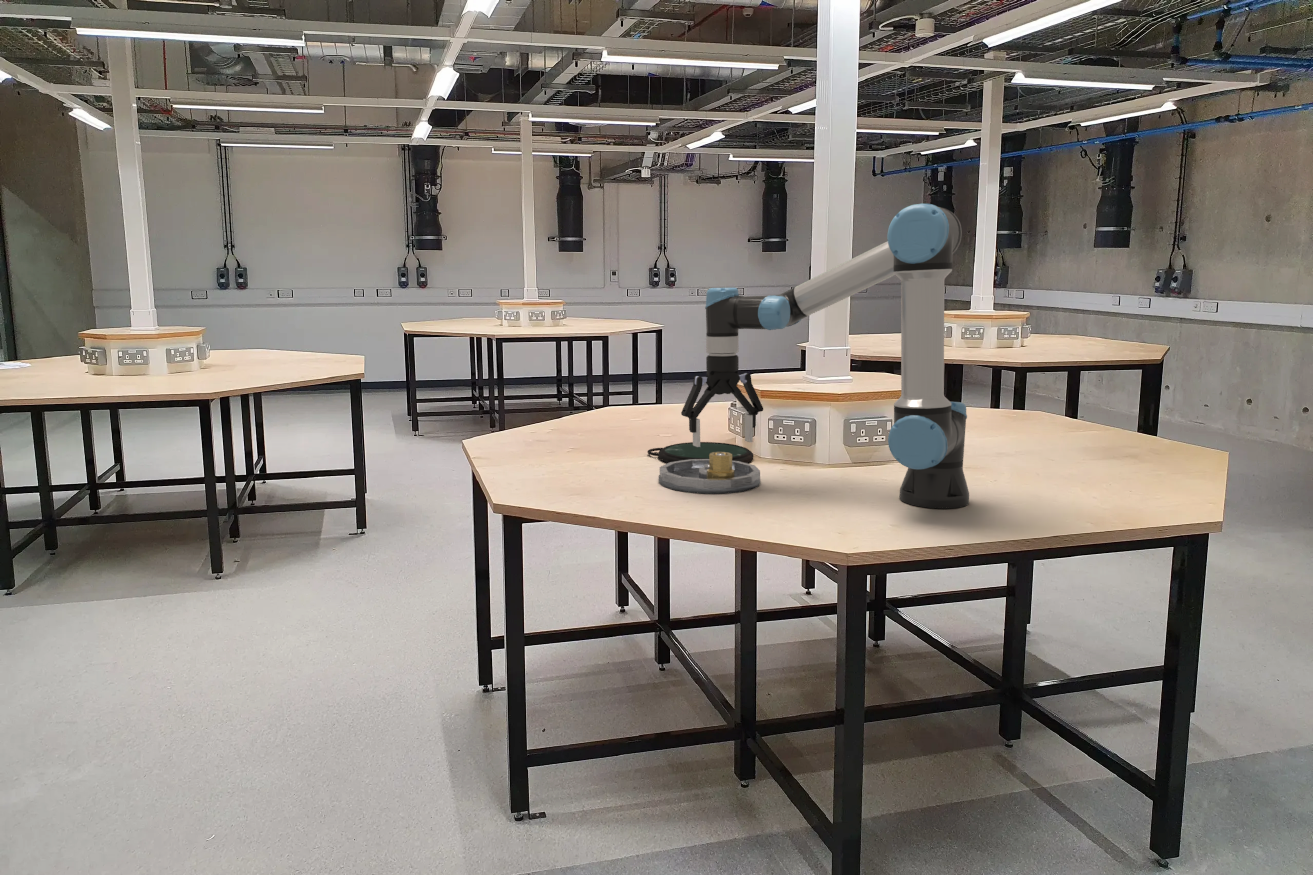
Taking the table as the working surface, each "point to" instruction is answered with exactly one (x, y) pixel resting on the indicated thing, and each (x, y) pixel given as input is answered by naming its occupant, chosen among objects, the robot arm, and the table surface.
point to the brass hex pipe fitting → (720, 466)
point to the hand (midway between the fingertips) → (722, 443)
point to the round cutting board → (700, 451)
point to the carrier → (694, 477)
